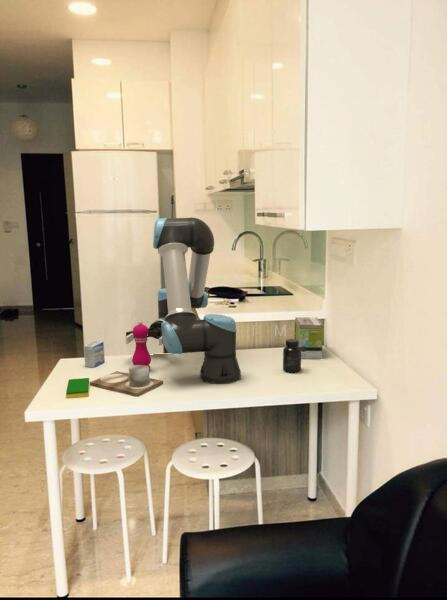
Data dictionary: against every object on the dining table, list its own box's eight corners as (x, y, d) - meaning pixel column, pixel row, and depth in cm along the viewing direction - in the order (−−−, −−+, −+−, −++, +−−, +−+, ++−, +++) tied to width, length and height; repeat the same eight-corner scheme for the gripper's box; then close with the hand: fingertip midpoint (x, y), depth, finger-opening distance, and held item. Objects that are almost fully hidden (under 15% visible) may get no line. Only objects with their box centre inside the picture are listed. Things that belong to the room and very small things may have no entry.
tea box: (322, 359, 209) (323, 324, 206) (298, 359, 209) (299, 324, 206) (316, 349, 224) (317, 316, 221) (293, 349, 224) (294, 316, 221)
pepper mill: (147, 374, 191) (145, 323, 188) (129, 373, 193) (127, 322, 189) (154, 368, 198) (152, 319, 195) (136, 367, 200) (134, 318, 196)
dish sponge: (89, 383, 183) (89, 377, 183) (88, 397, 170) (88, 390, 170) (69, 385, 182) (68, 379, 181) (66, 399, 169) (66, 392, 168)
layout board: (163, 384, 181) (162, 364, 180) (137, 396, 169) (136, 376, 168) (117, 374, 192) (116, 355, 191) (89, 385, 181) (88, 365, 179)
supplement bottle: (285, 367, 199) (285, 337, 197) (302, 369, 197) (303, 339, 195) (280, 372, 193) (281, 342, 191) (298, 374, 190) (299, 343, 188)
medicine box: (94, 368, 200) (93, 346, 198) (84, 367, 201) (83, 346, 200) (105, 362, 207) (104, 341, 206) (95, 361, 209) (94, 340, 207)
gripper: (188, 338, 216) (174, 352, 195) (133, 335, 221) (113, 349, 200) (188, 321, 214) (173, 333, 194) (132, 319, 219) (112, 330, 199)
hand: (143, 341), depth 197 cm, fingers open, 13 cm apart
